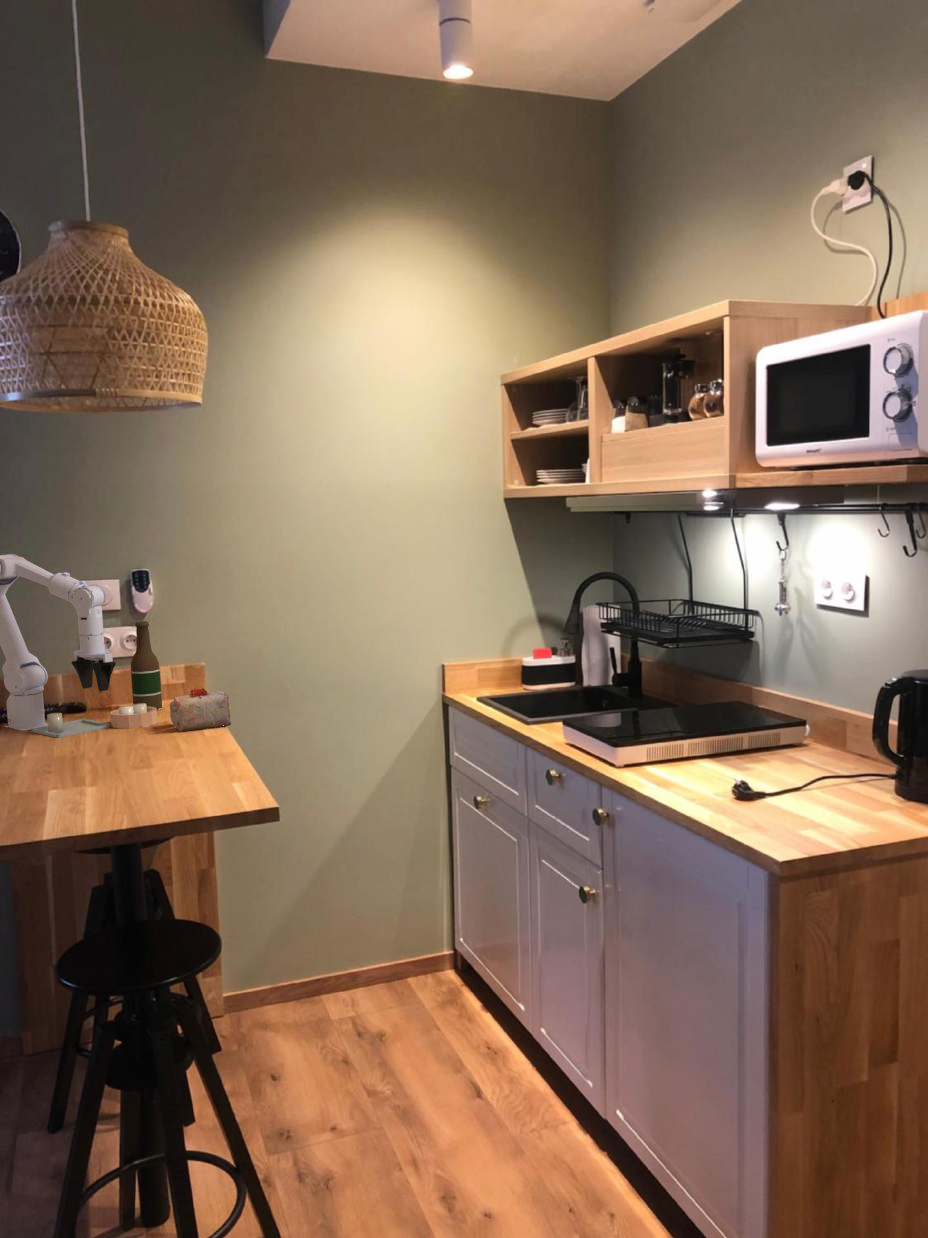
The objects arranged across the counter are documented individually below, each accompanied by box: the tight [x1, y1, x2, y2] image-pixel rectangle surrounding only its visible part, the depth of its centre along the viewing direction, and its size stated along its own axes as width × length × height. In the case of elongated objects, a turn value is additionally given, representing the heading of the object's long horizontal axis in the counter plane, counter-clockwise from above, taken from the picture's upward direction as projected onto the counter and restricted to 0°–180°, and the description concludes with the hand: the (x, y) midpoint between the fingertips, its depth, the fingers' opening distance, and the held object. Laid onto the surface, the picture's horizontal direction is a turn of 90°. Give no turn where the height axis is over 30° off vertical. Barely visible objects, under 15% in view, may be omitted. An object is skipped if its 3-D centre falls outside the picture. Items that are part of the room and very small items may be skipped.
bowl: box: [109, 707, 158, 730], centre depth 259 cm, size 11×11×4 cm
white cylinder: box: [46, 712, 64, 734], centre depth 252 cm, size 3×3×4 cm
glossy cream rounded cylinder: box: [131, 703, 147, 714], centre depth 260 cm, size 3×3×4 cm
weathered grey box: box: [169, 686, 232, 733], centre depth 254 cm, size 14×8×10 cm, turn 116°
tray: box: [30, 718, 112, 739], centre depth 255 cm, size 13×14×1 cm
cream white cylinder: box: [118, 705, 133, 714], centre depth 258 cm, size 3×3×4 cm
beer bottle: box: [130, 620, 163, 711], centre depth 279 cm, size 8×8×24 cm
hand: (95, 689), depth 256 cm, fingers open, 7 cm apart
